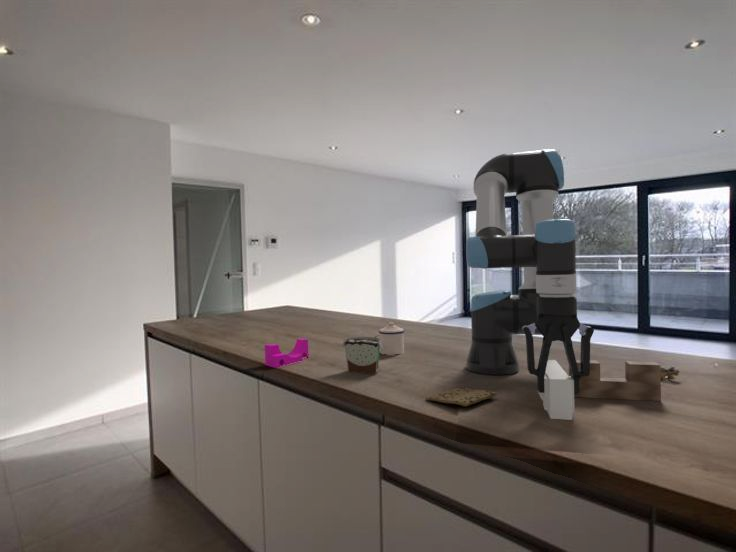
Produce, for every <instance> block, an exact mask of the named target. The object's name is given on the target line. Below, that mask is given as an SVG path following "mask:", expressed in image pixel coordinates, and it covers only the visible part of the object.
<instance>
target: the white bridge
mask: <svg viewBox="0 0 736 552" xmlns="http://www.w3.org/2000/svg"><path fill="white" fill-rule="evenodd" d="M538 363H539V359H537V364H538ZM545 375H546V376H547V377H548V380H549V410H546V412H547V415H548V416H549V419H551V420H566V421H567V420H568V421H573V412H572V380H571V378H570V377H569V374H568V373H567V372H566V371H565V370H564V369H563V367H562V366H561V365H560V364H559V362H558V361H557V360H556V359H548V361H547V366H546V371H545ZM537 393H538V395H539V397H540V400H541V401H542V402H543V393H539V391H538V390H537Z"/></svg>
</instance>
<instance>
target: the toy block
mask: <svg viewBox="0 0 736 552" xmlns="http://www.w3.org/2000/svg"><path fill="white" fill-rule="evenodd" d="M303 357H309V339H308V338H302V337H301V338H296V341H295V345H294V347H293V349H292V350H290V352H288V353H284V352H283V353H282V351H281V350H280V347H279V344H275V343H268V344H264V361H265V365H264V366H268V367H271V368H274V369H279V368H278V367H280V366H283V365H287V364H290V363H294V362H298V361H302V362H303V359H302V358H303ZM280 368H281V367H280Z"/></svg>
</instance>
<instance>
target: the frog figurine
mask: <svg viewBox="0 0 736 552" xmlns="http://www.w3.org/2000/svg"><path fill="white" fill-rule="evenodd" d="M660 368H661V383H663V384H664V383H666V384H670V383H672V382H671V381H670V380H669V379H671V380H675V379H676V377H678V376H679V373H680V370H679V369H677V368H675V366H671V367H664V366H660Z"/></svg>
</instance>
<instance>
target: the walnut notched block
mask: <svg viewBox="0 0 736 552" xmlns="http://www.w3.org/2000/svg"><path fill="white" fill-rule="evenodd" d="M576 362H577V366H578V370H579V369H580V359H576ZM624 364H625V366H624V370H625V377H624V378H623V377H622V378H621V377H601V363H600V362H599V361H598V360H597V359H596V360H593V359H592V360H591V359H590V374H589V376H584V377H581V378H580V380H579V384H580V392H579V394H574V398H587V399H588V398H590V399H593V398H594V399H606V400H607V399H610V400H612V399H613V400H629V401H646V402H647V401H648V402H649V401H650V402H661V401H662V393H661V392H662V388H661V387H662V385H661V384H662V382H661V368H660V367H661V364H659V363H657V362H655V361H632V360H631V361H628V360H625V361H624ZM568 376H571V372H570V368H569V367H568Z"/></svg>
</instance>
